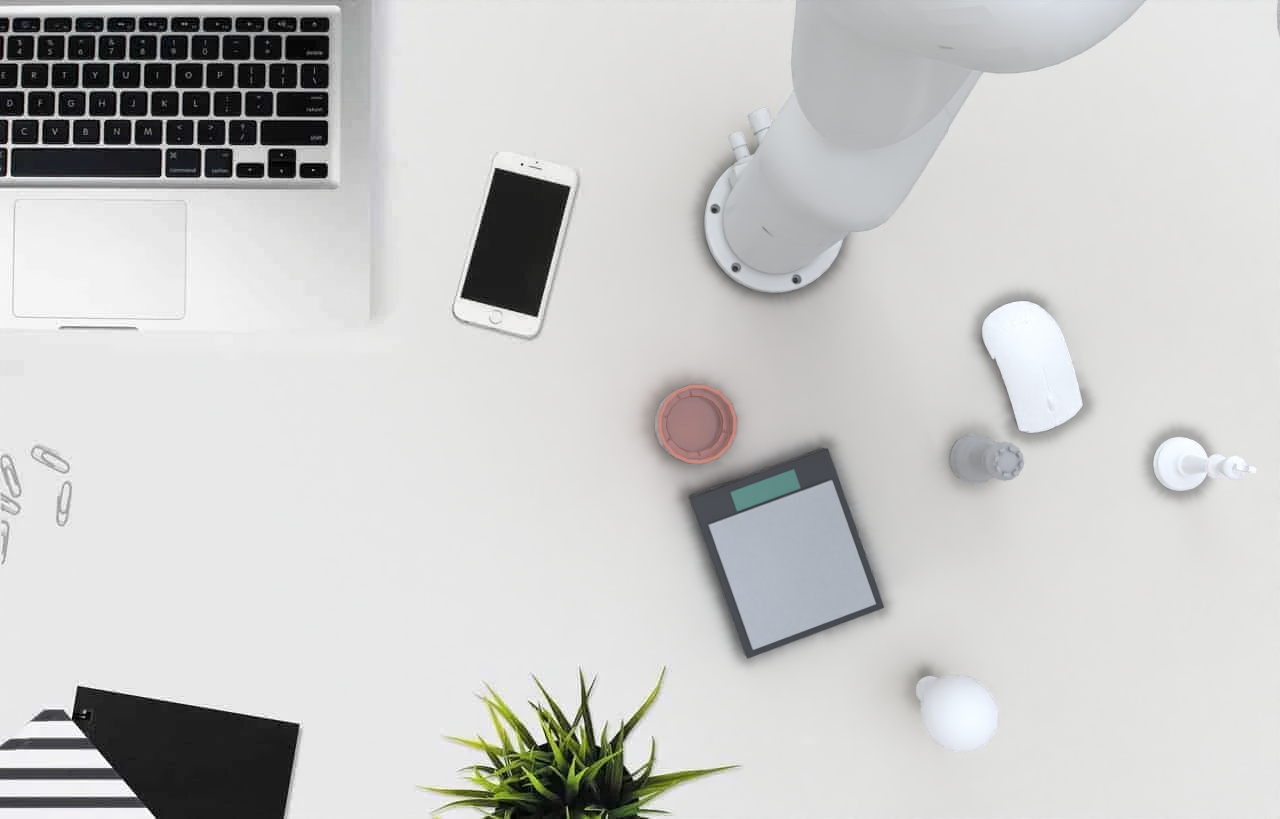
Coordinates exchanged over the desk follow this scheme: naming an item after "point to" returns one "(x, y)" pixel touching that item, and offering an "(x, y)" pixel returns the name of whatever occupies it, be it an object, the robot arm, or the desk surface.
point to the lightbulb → (957, 712)
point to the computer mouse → (1033, 365)
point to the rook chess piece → (985, 459)
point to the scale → (786, 552)
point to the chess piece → (1193, 464)
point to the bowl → (696, 424)
